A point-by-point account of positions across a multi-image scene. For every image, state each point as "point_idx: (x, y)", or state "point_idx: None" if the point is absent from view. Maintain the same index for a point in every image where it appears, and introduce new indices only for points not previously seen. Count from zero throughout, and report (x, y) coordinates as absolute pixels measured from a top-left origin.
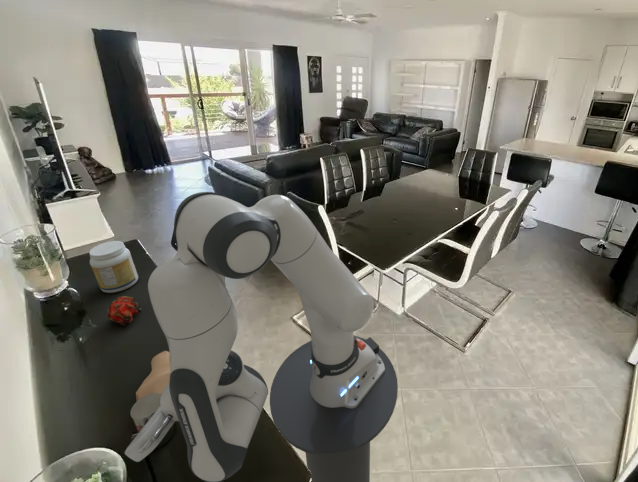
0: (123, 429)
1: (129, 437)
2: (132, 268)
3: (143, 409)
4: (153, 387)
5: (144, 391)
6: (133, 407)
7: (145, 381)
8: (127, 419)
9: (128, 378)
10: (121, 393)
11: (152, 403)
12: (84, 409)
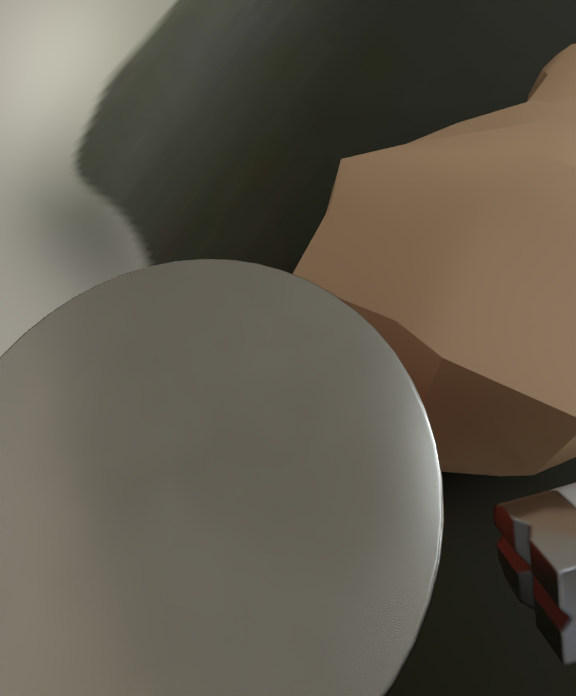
0: None
1: None
2: None
3: (94, 493)
4: (456, 233)
5: (381, 202)
6: (90, 307)
7: (450, 135)
8: None
9: (414, 85)
10: (349, 128)
11: (242, 538)
12: (229, 88)
